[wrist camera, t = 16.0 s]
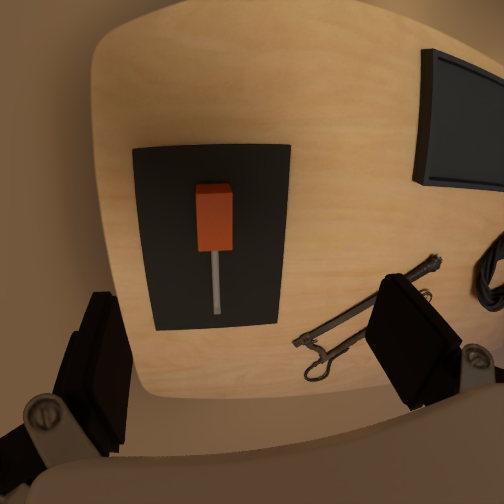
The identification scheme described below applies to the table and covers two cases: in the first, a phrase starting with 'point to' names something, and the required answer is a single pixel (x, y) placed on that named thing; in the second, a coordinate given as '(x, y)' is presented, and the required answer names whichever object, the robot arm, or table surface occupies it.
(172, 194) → the mat
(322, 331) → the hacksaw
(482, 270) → the cable
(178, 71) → the table surface
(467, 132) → the tray
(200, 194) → the screwdriver
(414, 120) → the table surface
